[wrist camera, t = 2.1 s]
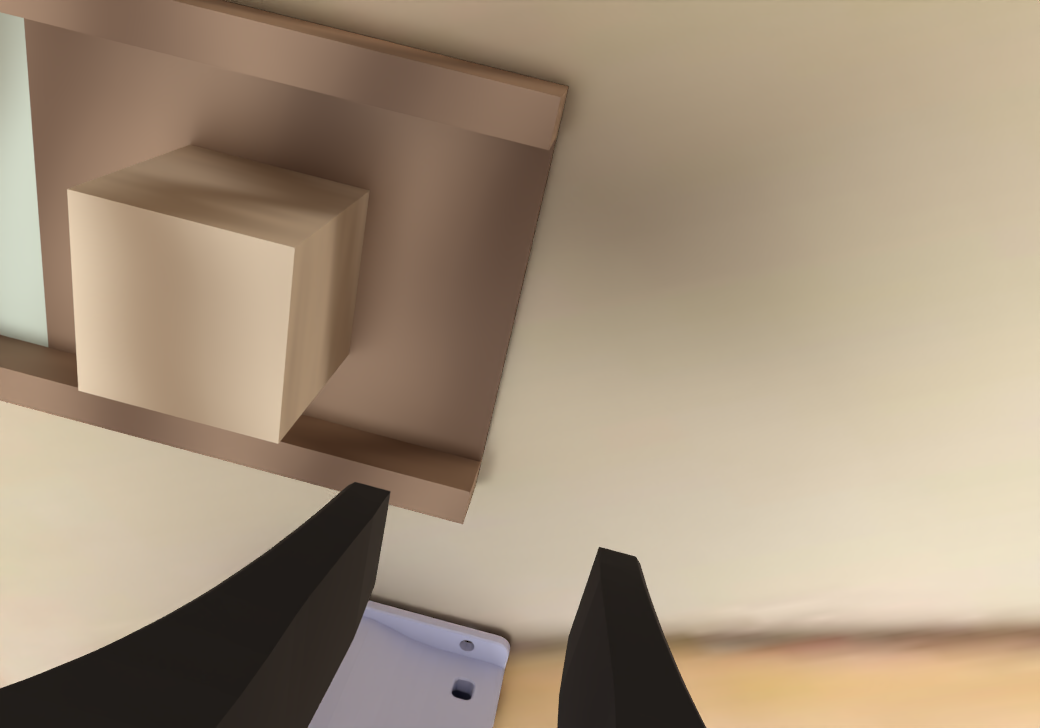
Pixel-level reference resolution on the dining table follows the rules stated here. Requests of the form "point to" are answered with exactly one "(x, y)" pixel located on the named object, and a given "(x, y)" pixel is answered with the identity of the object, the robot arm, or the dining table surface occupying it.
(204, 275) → the maple block
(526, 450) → the dining table surface
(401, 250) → the walled channel
